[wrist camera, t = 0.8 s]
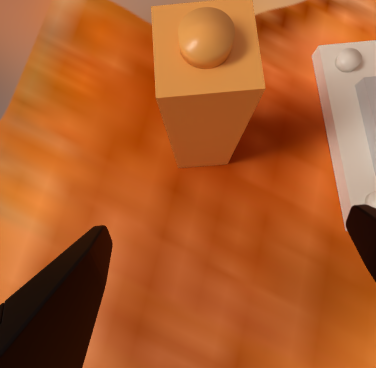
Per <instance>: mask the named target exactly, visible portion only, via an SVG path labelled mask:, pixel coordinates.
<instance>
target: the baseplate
mask: <svg viewBox="0 0 376 368" xmlns="http://www.w3.org/2000/svg"><path fill="white" fill-rule="evenodd" d="M312 61H313V66H314V71H315V76H316V81H317V86H318V91H319V97H320V102H321V107H322V112H323V117H324V122H325V128H326V133H327V138H328V143H329V148H330V153H331V159H332V164H333V169H334V174H335V179H336V184H337V189H338V195H339V200H340V205H341V210H342V215H343V220H344V226H345V231H347V228H346V220H347V217H348V214H349V212H350V209H351V207H352V206H353V205H360V204H366V205H369V206H371V207H374V208H376V40H373V41H362V42H352V43H341V44H330V45H319V46H318V47H317V49H316V50H315V52H314V53H313V55H312Z"/></svg>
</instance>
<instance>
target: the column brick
mask: <svg viewBox="0 0 376 368" xmlns="http://www.w3.org/2000/svg"><path fill="white" fill-rule="evenodd" d="M151 11H152V12H151V13H152V32H153V52H154V71H155V90H156V100H157V103H158V106H159V109H160V112H161V116H162V119H163V122H164V125H165V128H166V131H167V134H168V137H169V141H170V144H171V147H172V150H173V153H174V156H175V159H176V162H177V166H178V168H186V167H199V166H211V165H224V164H228V162H229V160H230V158H231V156H232V154H233V152H234V150H235V148H236V146H237V144H238V142H239V140H240V138H241V136H242V134H243V132H244V130H245V128H246V126H247V124H248V122H249V120H250V118H251V116H252V114H253V112H254V110H255V108H256V106H257V104H258V102H259V100H260V98H261V96H262V94H263V92H264V90H265V82H264V76H263V69H262V62H261V55H260V49H259V42H258V35H257V28H256V22H255V15H254V9H253V1H252V0H213V1H203V2H193V3H184V4H183V3H182V4H172V5H162V6H152V7H151Z"/></svg>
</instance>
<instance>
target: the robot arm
mask: <svg viewBox="0 0 376 368" xmlns="http://www.w3.org/2000/svg"><path fill="white" fill-rule="evenodd" d="M346 228H347V231H348V233H349V235H350V237H351V239H352V241H353V242H354V244H355V246H356V248H357V250H358V252H359V254H360V256H361V258H362V260H363V262H364V264H365V266H366V267H367V269H368V271H369V272H370V274H371V276H372V277H373V279H374V280H375V282H376V208H374V207H371V206H369V205H366V204H360V205H353V206H352V207H351V209H350V212H349V214H348V217H347V220H346ZM111 252H112V239H111V237H110V234H109V232H108V229H107V227H106V226H104V225H101V226H94V227H93V228H91V229H90V230H89V231H88V232H87V233H85V234H84V235H83V236H82V237H81V238H79V239H78V240H77V241H76V242H75V243H73V244H72V245H71V246H70V247H69V248H67V249H66V250H65V251H64V252H63V253H62V254H60V255H59V256H58V257H57V258H56V259H54V260H53V261H52V262H51V263H50V264H48V265H47V266H46V267H45V268H44V269H42V270H41V271H40V272H39V273H38V274H37V275H35V276H34V277H33V278H32V279H31V280H29V281H28V282H27V283H26V284H25V285H23V286H22V287H21V288H20V289H19V290H17V291H16V292H15V293H14V294H13V295H11V296H10V297H9V298H8V299H7V300H6V301H5V303H2V304H1V305H0V368H82V367H83V363H84V360H85V356H86V353H87V349H88V346H89V342H90V339H91V335H92V332H93V328H94V325H95V321H96V318H97V314H98V311H99V307H100V304H101V300H102V297H103V293H104V289H105V286H106V281H107V275H108V269H109V263H110V258H111Z"/></svg>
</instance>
